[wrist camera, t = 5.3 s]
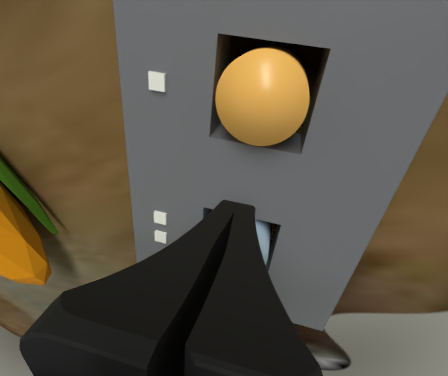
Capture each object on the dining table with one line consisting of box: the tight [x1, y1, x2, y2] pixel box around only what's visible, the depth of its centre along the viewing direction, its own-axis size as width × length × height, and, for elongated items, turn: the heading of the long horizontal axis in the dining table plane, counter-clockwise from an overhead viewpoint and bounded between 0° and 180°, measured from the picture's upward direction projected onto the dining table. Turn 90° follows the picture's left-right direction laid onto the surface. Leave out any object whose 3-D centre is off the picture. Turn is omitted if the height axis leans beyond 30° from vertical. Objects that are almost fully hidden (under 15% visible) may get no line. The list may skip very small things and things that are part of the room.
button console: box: [113, 0, 448, 331], centre depth 13 cm, size 14×30×3 cm, turn 174°
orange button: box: [215, 45, 310, 146], centre depth 13 cm, size 4×4×3 cm
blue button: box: [255, 219, 272, 265], centre depth 18 cm, size 4×4×3 cm
